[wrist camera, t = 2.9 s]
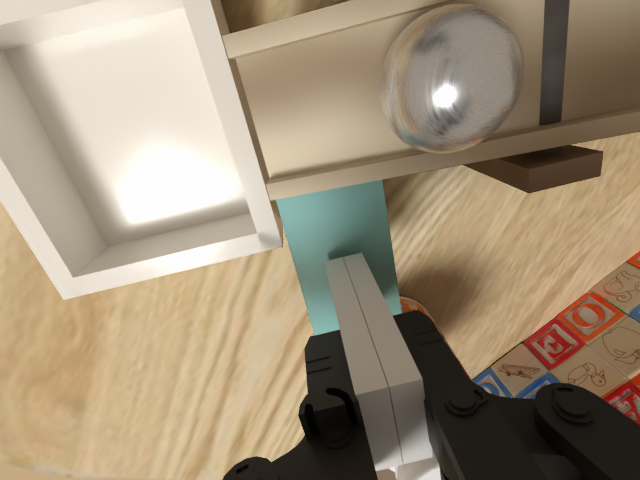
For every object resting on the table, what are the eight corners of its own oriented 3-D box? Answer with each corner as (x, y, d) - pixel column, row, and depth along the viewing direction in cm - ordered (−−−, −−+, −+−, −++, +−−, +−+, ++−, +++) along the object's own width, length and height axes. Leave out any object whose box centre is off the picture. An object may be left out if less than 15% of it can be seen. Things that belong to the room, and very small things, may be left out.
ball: (349, 34, 10) (411, 1, 7) (460, 9, 10) (568, -33, 7) (369, 158, 11) (427, 180, 8) (465, 130, 12) (556, 141, 9)
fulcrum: (380, -25, 16) (485, -144, 8) (484, -50, 16) (701, -196, 8) (402, 163, 20) (490, 219, 12) (487, 143, 20) (636, 184, 12)
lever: (236, 30, 12) (204, 19, 9) (956, -169, 9) (1221, -274, 6) (317, 322, 17) (311, 368, 14) (784, 265, 14) (885, 310, 11)
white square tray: (-25, 32, 16) (-118, 16, 12) (213, -25, 16) (192, -59, 12) (102, 262, 21) (63, 299, 17) (283, 218, 21) (282, 246, 17)
